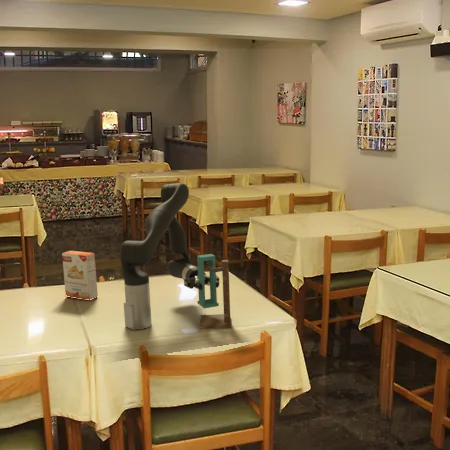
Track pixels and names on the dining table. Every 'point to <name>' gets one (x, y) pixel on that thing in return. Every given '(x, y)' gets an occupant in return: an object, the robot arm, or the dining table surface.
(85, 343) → the dining table surface
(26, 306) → the dining table surface
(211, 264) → the teal loop
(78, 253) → the cracker box
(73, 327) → the dining table surface
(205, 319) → the hook stand
